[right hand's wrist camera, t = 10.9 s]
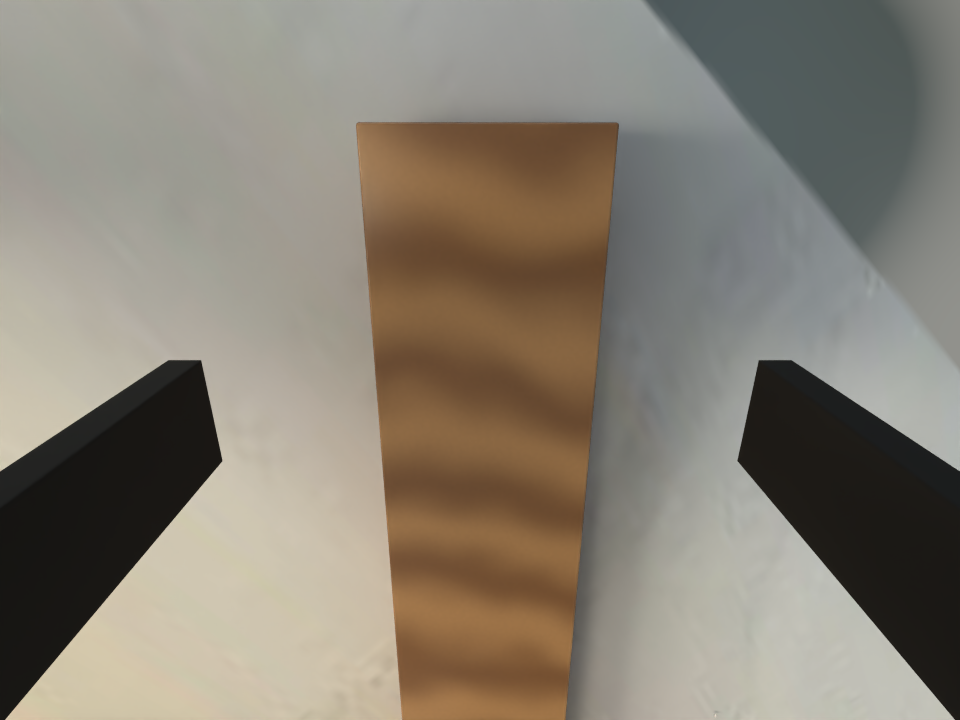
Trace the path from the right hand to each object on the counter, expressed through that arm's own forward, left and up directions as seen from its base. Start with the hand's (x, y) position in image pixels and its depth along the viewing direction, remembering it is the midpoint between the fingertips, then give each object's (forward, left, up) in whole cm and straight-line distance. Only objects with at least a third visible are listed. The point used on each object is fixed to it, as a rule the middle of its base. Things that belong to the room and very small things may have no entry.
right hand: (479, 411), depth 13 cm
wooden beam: (+3, -32, -17) cm, 36 cm away
